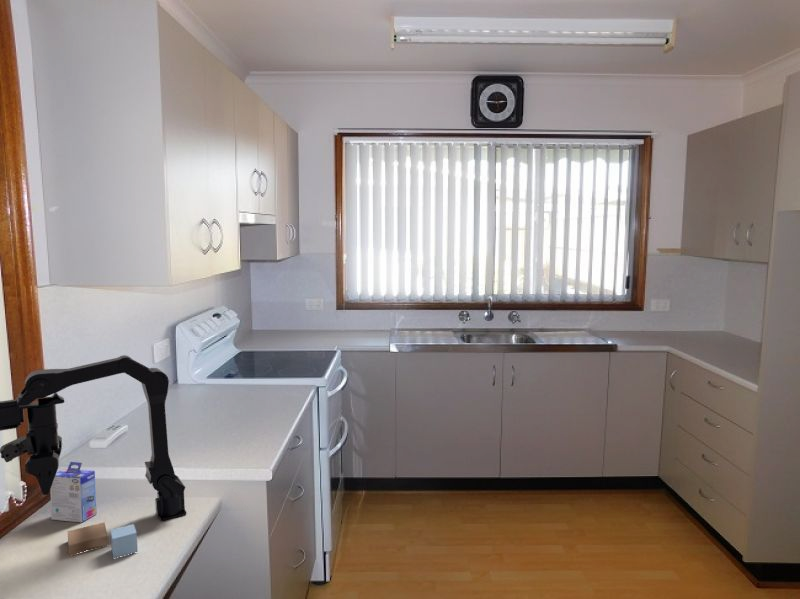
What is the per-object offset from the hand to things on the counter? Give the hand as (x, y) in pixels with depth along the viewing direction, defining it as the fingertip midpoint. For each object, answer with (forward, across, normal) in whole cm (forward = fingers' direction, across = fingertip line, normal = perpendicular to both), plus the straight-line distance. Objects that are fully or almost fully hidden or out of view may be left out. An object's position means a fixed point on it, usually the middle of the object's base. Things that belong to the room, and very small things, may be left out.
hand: (47, 487), depth 131 cm
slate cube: (+15, +12, +15) cm, 24 cm away
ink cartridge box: (+15, -14, +4) cm, 21 cm away
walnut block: (+15, +4, +8) cm, 17 cm away
